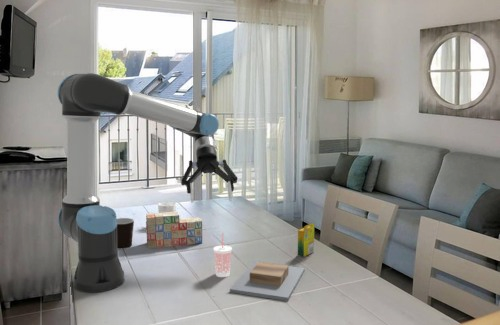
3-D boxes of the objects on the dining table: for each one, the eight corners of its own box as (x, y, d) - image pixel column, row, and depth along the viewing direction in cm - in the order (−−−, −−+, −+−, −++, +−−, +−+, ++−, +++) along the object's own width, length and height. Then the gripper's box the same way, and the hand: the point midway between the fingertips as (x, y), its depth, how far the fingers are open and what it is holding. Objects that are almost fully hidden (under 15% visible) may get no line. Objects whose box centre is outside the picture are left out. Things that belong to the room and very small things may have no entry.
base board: (288, 301, 132) (288, 297, 132) (229, 292, 138) (229, 288, 138) (304, 271, 155) (304, 268, 155) (253, 264, 161) (253, 261, 160)
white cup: (155, 227, 204) (154, 205, 202) (163, 222, 211) (163, 201, 210) (171, 228, 201) (170, 206, 200) (179, 224, 209) (178, 202, 207)
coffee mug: (128, 250, 173) (127, 224, 172) (107, 248, 175) (106, 223, 174) (141, 240, 185) (141, 216, 183) (121, 239, 186) (121, 215, 185)
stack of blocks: (199, 238, 188) (199, 209, 187) (202, 243, 182) (202, 213, 181) (146, 243, 182) (145, 213, 181) (147, 248, 176) (146, 217, 175)
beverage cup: (232, 271, 154) (232, 230, 152) (231, 278, 148) (231, 236, 146) (214, 270, 155) (214, 230, 152) (212, 277, 149) (212, 236, 146)
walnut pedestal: (280, 289, 140) (280, 276, 140) (249, 284, 143) (249, 272, 143) (288, 277, 150) (288, 265, 149) (258, 273, 153) (259, 261, 152)
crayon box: (307, 250, 176) (308, 220, 174) (314, 252, 174) (315, 222, 172) (296, 255, 170) (297, 224, 168) (303, 257, 168) (304, 226, 166)
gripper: (237, 156, 179) (245, 203, 167) (172, 158, 174) (175, 206, 161) (239, 144, 173) (248, 192, 161) (172, 146, 168) (176, 195, 155)
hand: (211, 199), depth 161 cm, fingers open, 13 cm apart
